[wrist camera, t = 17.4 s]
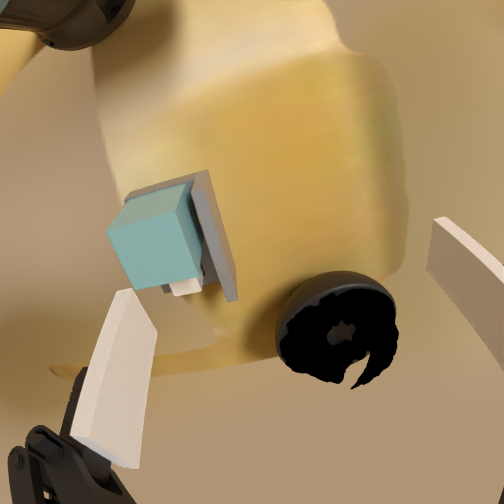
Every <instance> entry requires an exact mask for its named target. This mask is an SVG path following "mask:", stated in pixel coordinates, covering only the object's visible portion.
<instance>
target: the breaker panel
mask: <svg viewBox="0 0 504 504" xmlns="http://www.w3.org/2000/svg"><path fill="white" fill-rule="evenodd" d="M184 183H186V185H187V189H188V192H189V195H190V198H191V201H192V205H193V208H194V211H195V214H196V217H197V220H198V223H199V226H200V229H201V233H202V236H203V243H202V252H201V264H202V265H201V266H202V268H203V283H202V286H203V285H207V284H212V283H217V282H220V283H221V286H222V289H223V292H224V295H225V298H226V300H227V302H232V301H237V300H238V294H237V282H236V270H235V264H234V261H233V257H232V254H231V250H230V247H229V244H228V240H227V237H226V233H225V230H224V226H223V223H222V219H221V215H220V212H219V208H218V205H217V201H216V198H215V194H214V190H213V187H212V183H211V180H210V176H209V172H208V170H205V171H201V172H197V173H193V174H190V175H186V176H182V177H179V178H175V179H172V180H168V181H165V182H162V183H158V184H155V185H152V186H148V187H145V188H142V189H139V190H136V191H133V192H130V193H129V194H128V196H127V197H126V198H125V199H124V202H125V204H126V203H127V202H128V201H129V200H130V199H133V198H136V197H140V196H143V195H146V194H149V193H153V192H156V191H159V190H163V189H166V188H170V187H173V186H177V185H180V184H184ZM161 287H162V289H163V291H164V293H169V292H172V290H171V288H170V286H169V284H163V285H161Z"/></svg>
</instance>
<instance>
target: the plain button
mask: <svg viewBox="0 0 504 504" xmlns="http://www.w3.org/2000/svg"><path fill="white" fill-rule="evenodd" d="M202 283H203V268H202V266H201V263H200V272H199V277H196V278H191V279H186V280H182V281H177V282H173V283H168V284H169V286H170V288H171V290H172V292H173V294H174V296H175V297H176V296H181V295H186V294H191V293H196V292H201V291H202Z"/></svg>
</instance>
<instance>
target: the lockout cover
mask: <svg viewBox="0 0 504 504" xmlns="http://www.w3.org/2000/svg"><path fill="white" fill-rule="evenodd" d="M106 233H107V235H108V237H109V239H110V242H111V244H112V246H113V248H114V250H115V252H116V254H117V256H118V258H119V260H120V262H121V264H122V266H123V268H124V270H125V272H126V274H127V276H128V278H129V280H130V282H131V284H132V285H133V288H134V290H139V289H144V288H149V287H154V286H158V285H163V284H168V283H173V282H177V281H182V280H186V279H191V278H196V277H199V272H200V262H201V252H202V243H203V236H202V233H201V229H200V226H199V223H198V220H197V217H196V214H195V211H194V208H193V205H192V201H191V198H190V195H189V192H188V189H187V185H186V183H184V184H180V185H177V186H173V187H170V188H166V189H163V190H159V191H156V192H153V193H149V194H146V195H143V196H140V197H136V198H133V199H130V200H129V201H128V202H127V203H126V205H125V206H124V207H123V209H122V210H121V211H120V213H119V214H118V215H117V217H116V218H115V219H114V221H113V222H112V224H111V225H110V226H109V228H108V229H107V230H106Z"/></svg>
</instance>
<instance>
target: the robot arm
mask: <svg viewBox="0 0 504 504" xmlns="http://www.w3.org/2000/svg"><path fill="white" fill-rule="evenodd" d="M134 2H135V0H0V29H13V30H23V31H31V32H33V33H34V34H35V35H36V36H37V37H38V38H39V39H40V40H41V41H42V42H43V43H45V44H46V45H47V46H49V47H51V48H54V49H59V50H66V51H75V50H80V49H84V48H87V47H90V46H92V45H94V44H96V43H98V42H100V41H101V40H103V39H104V38H106V37H107V36H108V35H110V34H111V33H112V32H113V31H114V30H115V29H116V28H117V27H118V26H119V25H120V24H121V23H122V22H123V21H124V19H125V18H126V17H127V15H128V14H129V12H130V10H131V9H132V7H133V4H134ZM426 270H427V271H428V272H429V274H430V275H431V276H432V277H433V278H434V279H435V281H436V282H437V283H438V284H439V285H440V286H441V288H442V289H443V290H444V291H445V292H446V294H447V295H448V296H449V297H450V298H451V300H452V301H453V302H454V303H455V304H456V306H457V307H458V308H459V310H460V311H461V312H462V313H463V315H464V316H465V317H466V319H467V320H468V321H469V323H470V324H471V325H472V326H473V328H474V329H475V331H476V332H477V333H478V335H479V336H480V337H481V339H482V340H483V342H484V343H485V344H486V346H487V347H488V349H489V350H490V352H491V353H492V354H493V356H494V358H495V359H496V361H497V362H498V364H499V365H500V367H501V368H502V370H503V371H504V265H502V264H501V263H500V262H499V261H498V260H497V259H495V258H494V257H493V256H492V255H491V254H490V253H489V252H488V251H487V250H486V249H484V248H483V247H482V246H481V245H480V244H479V243H477V242H476V241H475V240H474V239H473V238H472V237H470V236H469V235H468V234H467V233H466V232H464V231H463V230H462V229H460V228H459V227H458V226H457V225H456V224H454V223H453V222H451V220H449V219H448V218H446V217H440V218H436V219H433V224H432V233H431V241H430V248H429V255H428V260H427V266H426ZM157 335H158V332H157V331H156V329H155V327H154V326H153V324H152V322H151V321H150V319H149V317H148V316H147V314H146V312H145V310H144V308H143V307H142V305H141V304H140V301H139V300H138V298H137V296H136V294H135V292H134V290H133V289H132V288H128V289H124V290H119V291H117V292H116V294H115V297H114V299H113V302H112V304H111V307H110V309H109V312H108V314H107V317H106V319H105V322H104V325H103V327H102V330H101V333H100V335H99V338H98V341H97V344H96V347H95V349H94V352H93V355H92V358H91V361H90V364H89V367H83V368H82V370H81V371H80V373H79V374H78V375H77V377H76V379H75V382H74V385H73V388H72V390H73V392H71V395H70V398H69V399H70V401H69V402H68V405H67V408H66V412H65V416H64V419H63V423H62V427H61V431H60V434H59V436H58V435H57V434H56V433H54V432H53V431H51V430H50V429H49V428H47V427H46V426H44V425H38V426H36V427H34V428H33V429H32V430H31V431H30V432H29V433H28V435H27V437H26V442H25V448H23V447H22V446H16V447H14V448H13V449H12V450H11V452H10V453H9V456H8V473H9V483H10V490H11V496H12V503H13V504H136V502H135V501H134V499H133V498H132V497H131V495H130V494H129V493H128V491H127V490H126V488H125V487H124V485H123V484H122V482H121V481H120V479H119V478H118V476H117V475H116V473H115V472H114V471H113V470H112V469H111V468H110V467H111V462H113V463H114V464H116V465H118V466H120V467H125V468H135V469H139V461H140V452H141V441H142V433H143V424H144V416H145V408H146V401H147V394H148V387H149V381H150V375H151V368H152V363H153V357H154V351H155V345H156V340H157ZM43 491H45V492H47V493H49V499H46V498H45V497H44V493H43ZM498 504H504V488H503V491H502V494H501V497H500V500H499V503H498Z"/></svg>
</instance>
